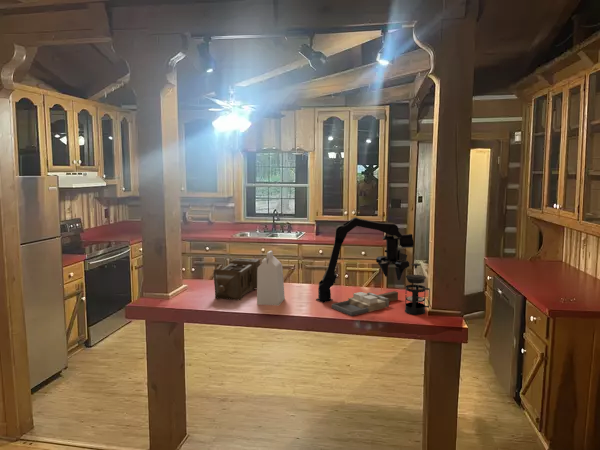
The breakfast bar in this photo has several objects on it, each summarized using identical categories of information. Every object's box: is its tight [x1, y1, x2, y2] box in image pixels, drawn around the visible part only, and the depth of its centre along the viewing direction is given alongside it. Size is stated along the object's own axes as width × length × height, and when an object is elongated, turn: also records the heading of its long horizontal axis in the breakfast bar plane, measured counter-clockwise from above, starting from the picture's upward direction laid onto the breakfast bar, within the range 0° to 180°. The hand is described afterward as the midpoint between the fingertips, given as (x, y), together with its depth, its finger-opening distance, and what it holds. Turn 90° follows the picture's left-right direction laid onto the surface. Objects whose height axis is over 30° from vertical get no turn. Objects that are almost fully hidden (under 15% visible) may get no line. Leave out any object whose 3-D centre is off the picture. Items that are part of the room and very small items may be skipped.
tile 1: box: [353, 291, 368, 301], centre depth 226 cm, size 5×5×2 cm
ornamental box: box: [213, 257, 261, 301], centre depth 245 cm, size 35×18×18 cm, turn 161°
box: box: [331, 299, 369, 317], centre depth 218 cm, size 15×10×2 cm
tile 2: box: [363, 295, 378, 304], centre depth 220 cm, size 5×5×2 cm
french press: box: [404, 263, 431, 316], centre depth 212 cm, size 12×9×23 cm
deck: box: [347, 297, 387, 313], centre depth 224 cm, size 15×11×3 cm
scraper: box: [366, 290, 399, 308], centre depth 231 cm, size 14×14×4 cm
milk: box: [256, 250, 286, 306], centre depth 233 cm, size 12×12×26 cm
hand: (392, 278), depth 231 cm, fingers open, 9 cm apart
